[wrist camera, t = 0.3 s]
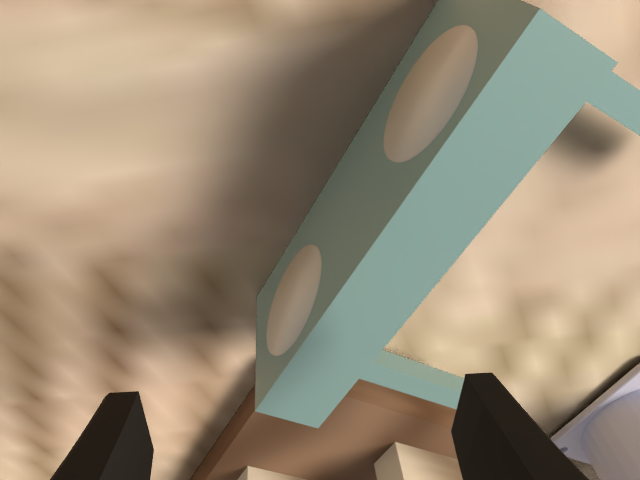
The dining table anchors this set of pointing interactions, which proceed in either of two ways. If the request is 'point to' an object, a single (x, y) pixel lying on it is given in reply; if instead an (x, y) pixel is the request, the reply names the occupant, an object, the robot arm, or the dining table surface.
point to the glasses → (420, 198)
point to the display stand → (340, 442)
